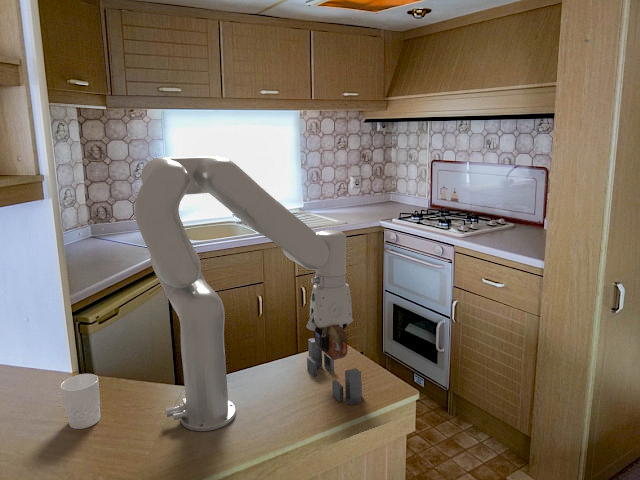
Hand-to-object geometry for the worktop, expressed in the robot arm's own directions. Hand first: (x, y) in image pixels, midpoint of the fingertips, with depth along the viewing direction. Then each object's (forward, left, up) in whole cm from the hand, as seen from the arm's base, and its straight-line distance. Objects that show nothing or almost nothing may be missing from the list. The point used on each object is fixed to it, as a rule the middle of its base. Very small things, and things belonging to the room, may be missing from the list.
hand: (330, 348), depth 132 cm
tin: (0, 0, -1) cm, 2 cm away
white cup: (-58, +12, -10) cm, 60 cm away
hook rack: (+1, 0, -10) cm, 10 cm away
